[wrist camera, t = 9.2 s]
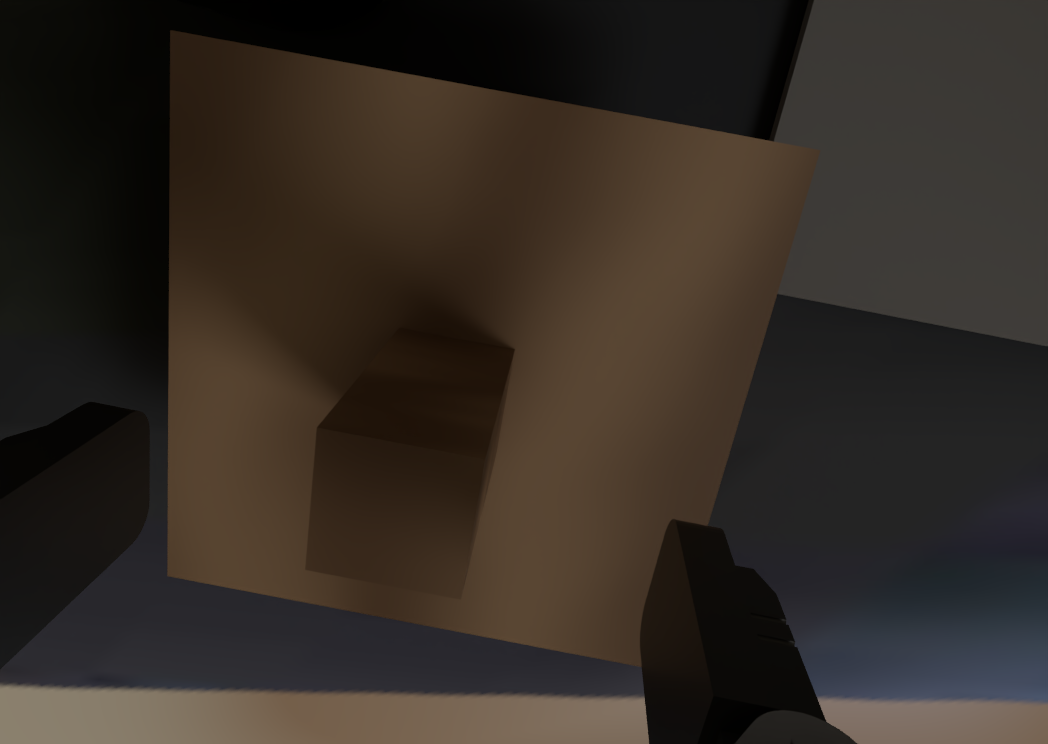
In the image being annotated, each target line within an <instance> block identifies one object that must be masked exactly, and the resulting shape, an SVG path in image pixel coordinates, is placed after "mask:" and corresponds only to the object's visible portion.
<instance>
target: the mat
mask: <svg viewBox="0 0 1048 744" xmlns="http://www.w3.org/2000/svg"><path fill="white" fill-rule="evenodd" d="M769 141H773V142H779V143H784V144H790V145H795V146H801V147H806V148H811V149H817V150H820V154H819V157H818V160H817V164H816V167H815V170H814V174H813V177H812V180H811V184H810V187H809V190H808V194H807V197H806V200H805V203H804V207H803V210H802V213H801V217H800V220H799V223H798V227H797V230H796V233H795V237H794V240H793V243H792V247H791V250H790V253H789V257H788V260H787V263H786V267H785V270H784V273H783V277H782V280H781V283H780V287H779V290H778V293H777V294H781V295H786V296H792V297H797V298H802V299H807V300H812V301H817V302H822V303H828V304H833V305H838V306H843V307H848V308H853V309H858V310H864V311H869V312H874V313H879V314H884V315H889V316H894V317H899V318H905V319H910V320H915V321H920V322H925V323H930V324H935V325H941V326H946V327H951V328H956V329H961V330H966V331H971V332H977V333H982V334H987V335H992V336H997V337H1002V338H1007V339H1012V340H1018V341H1023V342H1028V343H1033V344H1038V345H1043V346H1048V0H809V1H808V5H807V8H806V12H805V15H804V19H803V22H802V26H801V29H800V33H799V36H798V40H797V43H796V47H795V50H794V54H793V57H792V61H791V65H790V68H789V72H788V75H787V79H786V82H785V86H784V89H783V93H782V96H781V100H780V103H779V107H778V110H777V114H776V117H775V121H774V124H773V128H772V131H771V135H770V138H769Z"/></svg>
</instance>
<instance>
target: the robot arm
mask: <svg viewBox="0 0 1048 744" xmlns="http://www.w3.org/2000/svg"><path fill="white" fill-rule="evenodd" d="M149 447H150V431H149V422H148V419H147V417H146V415H145V414H144V413H142V412H140V411H135V410H130V409H125V408H120V407H115V406H110V405H105V404H100V403H95V402H89V403H86V404H83V405H82V406H80V407H78V408H76V409H75V410H73V411H71V412H70V413H68V414H66V415H64V416H63V417H61V418H59V419H58V420H56V421H54V422H52V423H51V424H49V425H47V426H43V427H40V428H37V429H33V430H30V431H27V432H24V433H20V434H17V435H14V436H10V437H7V438H4V439H3V440H1V441H0V669H1V668H2V667H3V666H4V665H5V664H6V663H7V662H8V661H9V660H10V659H11V658H13V657H14V656H15V655H16V654H17V653H18V652H19V651H20V650H21V649H22V648H23V647H24V646H25V645H26V644H27V643H28V642H29V641H30V640H31V639H33V638H34V637H35V636H36V635H37V634H38V633H39V632H40V631H41V630H42V629H43V628H44V627H45V626H46V625H47V624H48V623H49V622H50V621H51V620H53V619H54V618H55V617H56V616H57V615H58V614H59V613H60V612H61V611H62V610H63V609H64V608H65V607H66V606H67V605H68V604H69V603H70V602H71V601H73V600H74V599H75V598H76V597H77V596H78V595H79V594H80V593H81V592H82V591H83V590H84V589H85V588H86V587H87V586H88V585H89V584H90V583H91V582H93V581H94V580H95V579H96V578H97V577H98V576H99V575H100V574H101V573H102V572H103V571H104V570H105V569H106V568H107V567H108V566H109V565H110V564H111V563H112V562H114V561H115V560H116V559H117V558H118V557H119V556H120V555H121V554H122V553H123V552H124V551H125V550H126V549H127V548H128V547H129V546H130V545H131V544H132V543H133V542H134V541H135V540H136V538H137V537H138V535H139V534H140V532H141V530H142V528H143V526H144V523H145V521H146V518H147V514H148V509H149ZM794 644H795V641H794V638H793V636H792V633H791V630H790V628H789V625H786V618H785V615H784V613H783V610H782V607H781V605H780V602H779V600H778V597H777V595H776V593H775V592H774V591H773V590H772V589H771V588H770V587H769V586H768V584H767V583H766V582H765V581H764V580H763V579H762V578H761V577H760V576H759V575H758V574H757V572H756V571H755V570H754V569H750V568H745V567H740V566H735V564H734V561H733V558H732V555H731V552H730V549H729V546H728V543H727V540H726V537H725V534H724V531H723V530H722V529H720V528H716V527H711V526H706V525H701V524H696V523H691V522H686V521H681V520H676V519H672V520H671V521H670V522H669V524H668V526H667V529H666V531H665V535H664V538H663V542H662V545H661V549H660V552H659V556H658V559H657V563H656V566H655V570H654V573H653V577H652V580H651V584H650V587H649V591H648V594H647V598H646V601H645V605H644V609H643V615H642V621H641V629H640V653H641V664H642V674H643V684H644V694H645V704H646V715H647V724H648V735H649V744H857V743H855V742H854V741H853V740H852V739H851V738H850V737H849V736H847V735H846V734H845V733H843V732H842V731H840V730H839V729H837V728H836V727H834V726H832V725H830V724H829V723H827V722H826V720H825V717H824V715H823V712H822V710H821V707H820V705H819V702H818V699H817V697H816V694H815V692H814V689H813V687H812V684H811V682H810V679H809V676H808V674H807V671H806V669H805V666H804V664H803V661H802V659H801V656H800V653H799V651H798V648H797V647H794Z"/></svg>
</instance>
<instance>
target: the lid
mask: <svg viewBox="0 0 1048 744" xmlns="http://www.w3.org/2000/svg"><path fill="white" fill-rule="evenodd" d="M819 154H820V150H817V149H811V148H806V147H801V146H795V145H790V144H784V143H779V142H773V141H768V140H763V139H757V138H752V137H746V136H741V135H736V134H730V133H725V132H719V131H714V130H708V129H703V128H698V127H692V126H687V125H681V124H676V123H671V122H665V121H660V120H654V119H649V118H644V117H638V116H633V115H627V114H622V113H616V112H611V111H606V110H600V109H595V108H589V107H584V106H579V105H573V104H568V103H562V102H557V101H552V100H546V99H541V98H535V97H530V96H524V95H519V94H514V93H508V92H503V91H497V90H492V89H487V88H481V87H476V86H470V85H465V84H459V83H454V82H449V81H443V80H438V79H432V78H427V77H422V76H416V75H411V74H405V73H400V72H395V71H389V70H384V69H378V68H373V67H367V66H362V65H357V64H351V63H346V62H340V61H335V60H330V59H324V58H319V57H313V56H308V55H303V54H297V53H292V52H286V51H281V50H275V49H270V48H265V47H259V46H254V45H248V44H243V43H238V42H232V41H227V40H221V39H216V38H210V37H205V36H200V35H194V34H189V33H183V32H178V31H173V30H170V187H169V387H168V576H170V577H175V578H181V579H186V580H191V581H196V582H201V583H207V584H212V585H217V586H222V587H227V588H233V589H238V590H243V591H248V592H254V593H259V594H264V595H269V596H274V597H280V598H285V599H290V600H295V601H301V602H306V603H311V604H316V605H321V606H327V607H332V608H337V609H342V610H347V611H353V612H358V613H363V614H368V615H374V616H379V617H384V618H389V619H394V620H400V621H405V622H410V623H415V624H420V625H426V626H431V627H436V628H441V629H447V630H452V631H457V632H462V633H467V634H473V635H478V636H483V637H488V638H494V639H499V640H504V641H509V642H514V643H520V644H525V645H530V646H535V647H540V648H546V649H551V650H556V651H561V652H567V653H572V654H577V655H582V656H587V657H593V658H598V659H603V660H608V661H613V662H619V663H624V664H629V665H634V666H640V667H642V664H641V653H640V629H641V621H642V615H643V609H644V605H645V601H646V598H647V594H648V591H649V587H650V584H651V580H652V577H653V573H654V570H655V566H656V563H657V559H658V556H659V552H660V549H661V545H662V542H663V538H664V535H665V531H666V529H667V526H668V524H669V522H670V521H671V520H672V519H676V520H681V521H686V522H691V523H696V524H701V525H706V526H708V522H709V519H710V516H711V512H712V509H713V506H714V502H715V499H716V496H717V493H718V489H719V486H720V483H721V479H722V476H723V473H724V469H725V466H726V463H727V459H728V456H729V453H730V449H731V446H732V443H733V439H734V436H735V433H736V429H737V426H738V423H739V419H740V416H741V413H742V409H743V406H744V403H745V399H746V396H747V393H748V390H749V386H750V383H751V380H752V376H753V373H754V370H755V366H756V363H757V360H758V356H759V353H760V350H761V346H762V343H763V340H764V336H765V333H766V330H767V326H768V323H769V320H770V316H771V313H772V310H773V306H774V303H775V300H776V296H777V293H778V290H779V287H780V283H781V280H782V277H783V273H784V270H785V267H786V263H787V260H788V257H789V253H790V250H791V247H792V243H793V240H794V237H795V233H796V230H797V227H798V223H799V220H800V217H801V213H802V210H803V207H804V203H805V200H806V197H807V194H808V190H809V187H810V184H811V180H812V177H813V174H814V170H815V167H816V164H817V160H818V157H819Z"/></svg>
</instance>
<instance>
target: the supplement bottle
mask: <svg viewBox="0 0 1048 744" xmlns="http://www.w3.org/2000/svg"><path fill="white" fill-rule="evenodd" d="M177 1H181V2H184V3H187V4H190V5H194V6H197V7H200V8H203V9H207V10H210V11H213V12H216V13H220V14H223V15H226V16H230V17H233V18H236V19H239V20H243V21H246V22H249V23H253V24H257V25H261V26H265V27H269V28H273V29H278V30H285V31H298V32H310V31H321V30H326V29H331V28H335V27H338V26H341V25H344V24H347V23H349V22H351V21H353V20H356V19H358V18H359V17H361V16H363V15H364V14H366V13H368V12H369V11H371V10H372V9H373V8H375V7H376V6H377V5H379V4H380V3H381V2H382V1H383V0H177Z"/></svg>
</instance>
